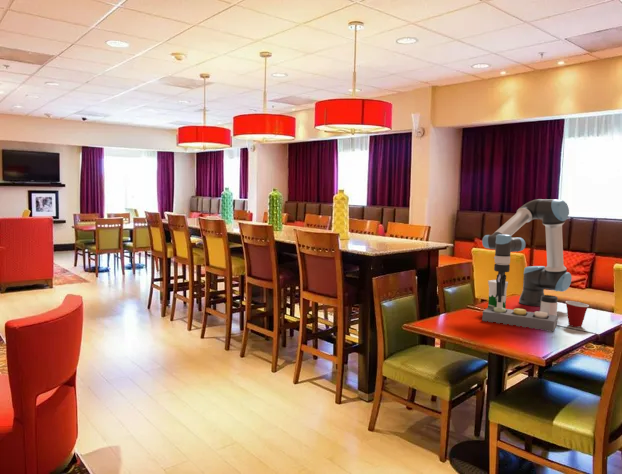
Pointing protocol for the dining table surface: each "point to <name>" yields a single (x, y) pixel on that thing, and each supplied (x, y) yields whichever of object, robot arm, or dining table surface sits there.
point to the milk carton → (492, 294)
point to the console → (520, 319)
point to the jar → (549, 304)
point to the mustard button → (520, 311)
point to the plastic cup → (576, 313)
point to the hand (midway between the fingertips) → (499, 307)
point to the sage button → (499, 310)
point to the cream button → (540, 314)
